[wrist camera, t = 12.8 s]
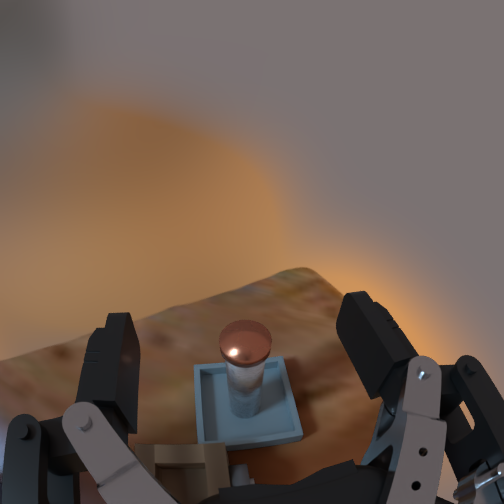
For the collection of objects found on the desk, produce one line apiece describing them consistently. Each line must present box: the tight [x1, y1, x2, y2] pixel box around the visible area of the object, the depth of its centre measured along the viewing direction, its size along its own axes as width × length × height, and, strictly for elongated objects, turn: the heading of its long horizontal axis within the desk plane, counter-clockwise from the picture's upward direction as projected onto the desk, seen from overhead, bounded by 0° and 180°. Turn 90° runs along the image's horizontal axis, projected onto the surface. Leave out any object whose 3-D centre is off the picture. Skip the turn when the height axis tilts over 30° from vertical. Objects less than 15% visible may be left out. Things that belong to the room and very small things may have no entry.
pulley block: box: [135, 442, 255, 504], centre depth 24 cm, size 12×10×6 cm
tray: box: [194, 356, 303, 451], centre depth 35 cm, size 13×13×2 cm
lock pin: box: [219, 320, 272, 419], centre depth 31 cm, size 5×5×15 cm
